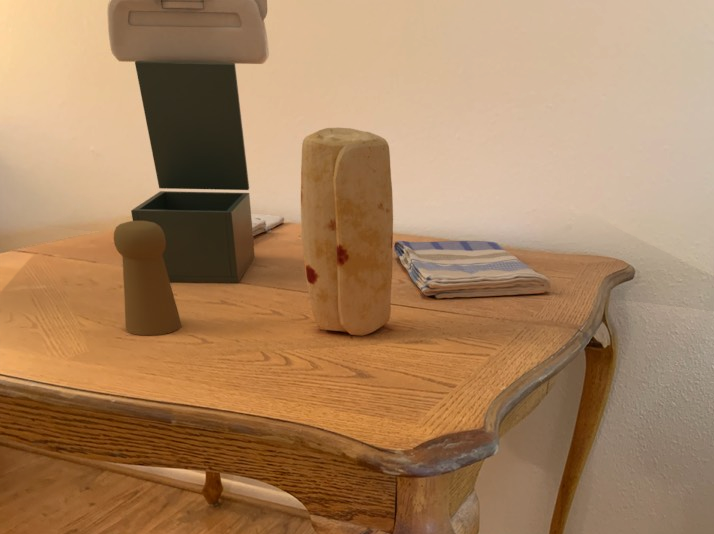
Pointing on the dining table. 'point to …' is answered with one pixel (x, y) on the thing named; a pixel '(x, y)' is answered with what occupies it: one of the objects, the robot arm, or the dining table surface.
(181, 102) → the bin lid
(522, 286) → the dish towel
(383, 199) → the food model
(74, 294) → the dining table surface
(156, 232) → the cork
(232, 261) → the bin
